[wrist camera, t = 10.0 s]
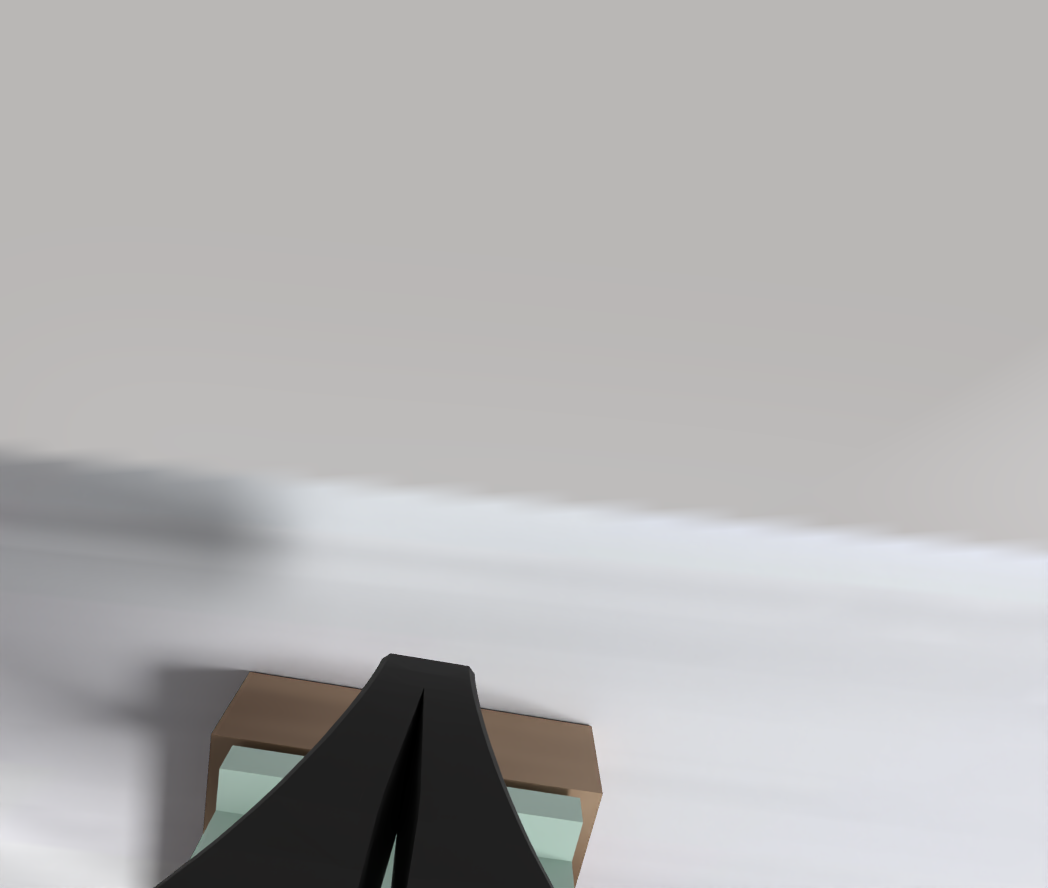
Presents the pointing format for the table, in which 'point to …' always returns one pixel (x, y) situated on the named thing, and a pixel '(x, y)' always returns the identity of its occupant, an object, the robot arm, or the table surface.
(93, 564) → the table surface
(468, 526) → the table surface
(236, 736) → the shelf board
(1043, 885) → the table surface
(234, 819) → the sliding bookend
